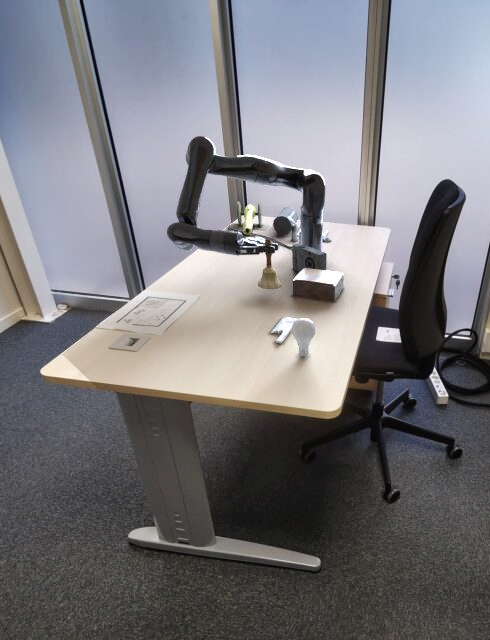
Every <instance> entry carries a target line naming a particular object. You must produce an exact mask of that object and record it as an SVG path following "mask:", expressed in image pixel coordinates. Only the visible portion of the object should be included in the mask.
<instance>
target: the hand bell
mask: <svg viewBox="0 0 490 640" xmlns="http://www.w3.org/2000/svg"><path fill="white" fill-rule="evenodd" d="M270 238H271V237H270ZM270 238H265V239H266V242H265V245H267V246H272V244H271V243H272V240H271V239H270ZM264 254H265V257H266V267H265V268H263V269H262V272H261V278H260V279H259V281H258V282H257V286H258V287H259V288H260V289H263V290H277V289H279V288H281V287H282V286H283V285H282V282H281V281H280V280H279V278H278V275H277V270H276V269H275V268H274V267H273V265H272V255H273V254H272V253H265V252H264Z"/></svg>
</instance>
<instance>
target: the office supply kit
mask: <svg viewBox="0 0 490 640" xmlns="http://www.w3.org/2000/svg"><path fill="white" fill-rule="evenodd" d="M298 219H299V216H298V212H297V211H296V209H295V208H293V207H291V206H287V207H283V209H282V210H281V211H280V212H279V213H278V214H277V216H276V217H275V218H274V219H273V221H272V227H273V231H274V232H275V233H276V234H277V235H279V236H282V237H283V236H288V235H289V234H290V233H291V242H296V241H297V240H298V237H299V232H300V231H301V227H300V229H299V230H297V226H298V225H297V223H298ZM328 232H329V231H328V230H326V231H324V233H323V234H322V242H326V243H329V242H330V241H331V238H330V237H327V234H328ZM297 236H298V237H297Z"/></svg>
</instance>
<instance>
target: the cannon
mask: <svg viewBox="0 0 490 640" xmlns="http://www.w3.org/2000/svg"><path fill="white" fill-rule="evenodd" d="M236 215H237V216H236V217H237V224H238V226H242V231H243V233H242V234H244V235H246V236H250V235H251V233H253V227H254V226H253V224H254V220H255V219H256V216H257V220H258V226H259V227H261V226H262V215H263V214H262V205H261V201H257V209H256V207H255V206H254V205H252V204H251V203H248V205H246V206H245V207H244V211H242V205H241V202H240V200H238V201H236ZM242 216H243V218H242ZM242 219H244V222H243V220H242ZM242 223H243V225H242Z"/></svg>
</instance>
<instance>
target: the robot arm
mask: <svg viewBox="0 0 490 640" xmlns="http://www.w3.org/2000/svg"><path fill="white" fill-rule="evenodd" d="M185 161H186V164H187V170H186V174H185V178H184V182H183V185H182V188H181V191H180V195H179V198H178V202H177V205H176V211H175V216H176V219H177V220H178V221H175V222H172V223H170V224H169V225H168V227H167V228H166V235H167V238H168V239H169V240H170V241H171V243H173V244H174V245H175V247H177V248H178V249H179V251H182V252H190V251H192V250H193V249H194V247H196V248H197V249H199V250H201V251H206V252H213V253H217V254H223V255H228V256H229V255H230V256H239V257H240V256H258V255H260V254H265V253H272V255H273V254H275V253H276V252H277V251H279V245H282V246H284V247H285V248H287V249H292V246H290V245H288V244H285V243H284V242H281V241H279V240H277V239H275V238H272V237H269V236H266V235H263V234H258V233H253V232H252V233H251V234H250V235H251V236H254V238H253V237H246V238H245V237H244V235H243V234H244V233H243V230H239V229H234V228H232V227H231V228H230V227H227V230H225V229H212V228H211V229H209V228H202V227H199V226H198V218H199V213H200V209H201V205H202V199H203V195H204V188H205V184H206V181H207V177H208V175H211V176H212V175H213V176H221V177H226V178H231V179H236V180H239V181H244V182H249V183H252V184H257V185H261V186H266V187H284V188H289V189H292V190H295V191H298V192H300V193H302V205H300V207H299V215H300V218H299V219H300V221H299V222H300V228H301V231H300V232H299V231H298V232H299V236H298V244H299V243H300V244H302V245H305V246H308V247H311V248H314V249H316V250H319V251H322V252H323V240H322V235H323V234H324V233H323V231H324V230H323V228H324V227H323V225H324V224H323V223H324V222H323V221H324V210H325V205H326V182H325V179H324V177H323V176H322V174H320V173H319V172H316V171H314V170H312V169H306V168H296V167H291V166H287V165H284V164H282V163H280V162H277V161H274V160H271V159H268V158H264V157H261V156H257V155H251V154H245V155H236V156H225V155H221V154H217V150H216V147H215V145H214V143H213V141H211V139H209V138H208V137H206V136H203V135H197V136H195V137H193V138H192V139H191V140H190V141H189V142H188V145H187V149H186V153H185ZM266 238H270V241H273V242H271V244H272V246H267V245H265V242H266Z"/></svg>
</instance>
